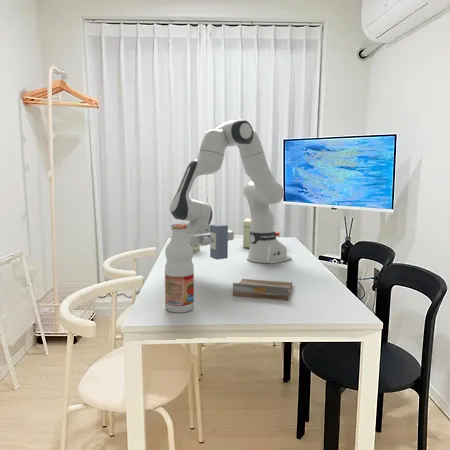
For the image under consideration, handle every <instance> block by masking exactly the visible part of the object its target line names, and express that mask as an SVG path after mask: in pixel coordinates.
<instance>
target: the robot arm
mask: <svg viewBox="0 0 450 450" xmlns="http://www.w3.org/2000/svg"><path fill="white" fill-rule="evenodd" d="M234 146H236V147H237V148H238V151H239V155H240V158H241V163H242V166H243V169H244V172H245V175H247V176H248V177H249V178H250V179H249V180H251V181H248V182H247V183H245V185H244V187H243V196H244V197H245V199H246V200H247V204H248V207H249V213H250V219H251V231H250V248H249V249H248V254H247V258H246V260H247V261H249V262H253V263H260V264H261V263H263V264H276V263H281V262H284V261H285V262H286V261H289V260H292V256H291V255H288V252H287V247H286V246H285V244H283V243H282V242H281V241H279V239H277V237H280V236H281V232H278V231H276V232H275V231H274V227H275V226H274V225H275V223H274V221H275V219H274V214H273V212H272V211H271V208H270V205H275V204H279V203H280V202H281V201H282V200H283V198H284V195H285V194H284V193H285V191H284V188H283V186H282V185H281V184H280V183H279V182H278V181H277V180H276V178H275V177H274V175H273V173H272V171H271V169H270V167H269V165H268V163H267V162H268V161H267V158H266V155H265V152H264V147H263V144H262V142H261V140H260V137H259V136H258V134H257V132H256V131H255V130H253V127H252V124H251V123H250V122H249V121H248V120H246V119H235V120H228V121H226V122H223V123H219V124H217V125H215V126H214V127H213V129H209V130H207V131H206V132H205V134H204V136H203V139H202V140H201V143H200V146H199V151H198V155H197V157H196V158H195V159H194V160H192V161H191V162H189V164H188V166H187V167H186V169H185V172H184V174H183V177H182V179H181V181H180V184H179V186H178V189H177V191H176V194H175V195H174V197H173V199H172V201H171V203H170V206H169V211H170V213H171V216H172V217H173V218H174V219H175V220H181V221H182V223H181V222H180V224H186V225H187V230H186V237H187V240H188V242H189V243H190V244H191V245H195V244H199V245H200V246H203V247H204V246H208V245H210V243H214V238H210V225H211V222H212V220H213V214H214V213H213V210H212V206H211V205H210V203H208V202H205V201H201V200H197V199H193V198H190V196H189V195H190V192H191V190H192V187H193V185H194V182H195V180H196V179H197V178H199V177H200V176H208V175H209V176H210V175H213V174H215V173H218V172H219V171H220V170H221V167H222V165H223V161H224V159H225V152H226V149H227V147H234ZM234 239H235V233H234V230H232V229H230V228H228V241H233V240H234Z"/></svg>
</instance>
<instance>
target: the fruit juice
mask: <svg viewBox="0 0 450 450" xmlns="http://www.w3.org/2000/svg"><path fill="white" fill-rule="evenodd" d="M170 228H171V231H172V235H171V238H170V241H169V242H168V244H167V245H166V247H165V250H164V254H165V258H166V262H165V264H164V265H165V266H164V304H165V305H164V306H165V310H166V311H168V312H170V313H175V314H176V313H177V314H181V313H187V312H191V311H192V310H193V309H194V305H195V290H194V289H195V286H194V285H195V278H194V277H195V276H194V275H195V268H194V264H193V257H194V252H193V248H192V246H191V245H190V243H189V242H188V240H187V237H186V230H187V225H186V224H181V223H174V224H171V227H170Z"/></svg>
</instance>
